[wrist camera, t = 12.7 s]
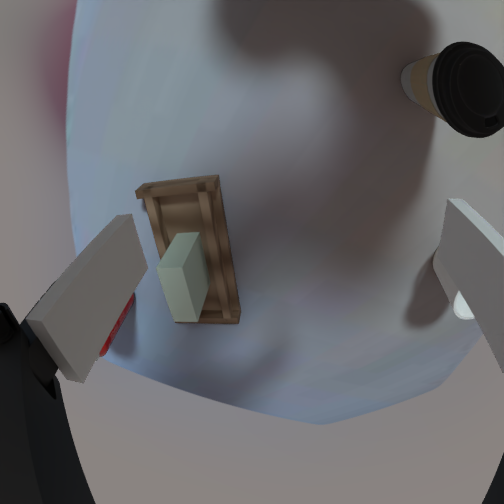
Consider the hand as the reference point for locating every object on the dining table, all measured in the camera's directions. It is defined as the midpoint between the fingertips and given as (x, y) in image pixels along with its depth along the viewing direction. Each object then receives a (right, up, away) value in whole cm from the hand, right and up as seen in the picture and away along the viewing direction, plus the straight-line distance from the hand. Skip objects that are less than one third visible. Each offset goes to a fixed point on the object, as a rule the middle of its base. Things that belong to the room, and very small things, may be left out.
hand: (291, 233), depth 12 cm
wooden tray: (-10, -1, +36) cm, 37 cm away
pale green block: (-10, -2, +35) cm, 36 cm away
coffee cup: (+20, +21, +19) cm, 35 cm away
